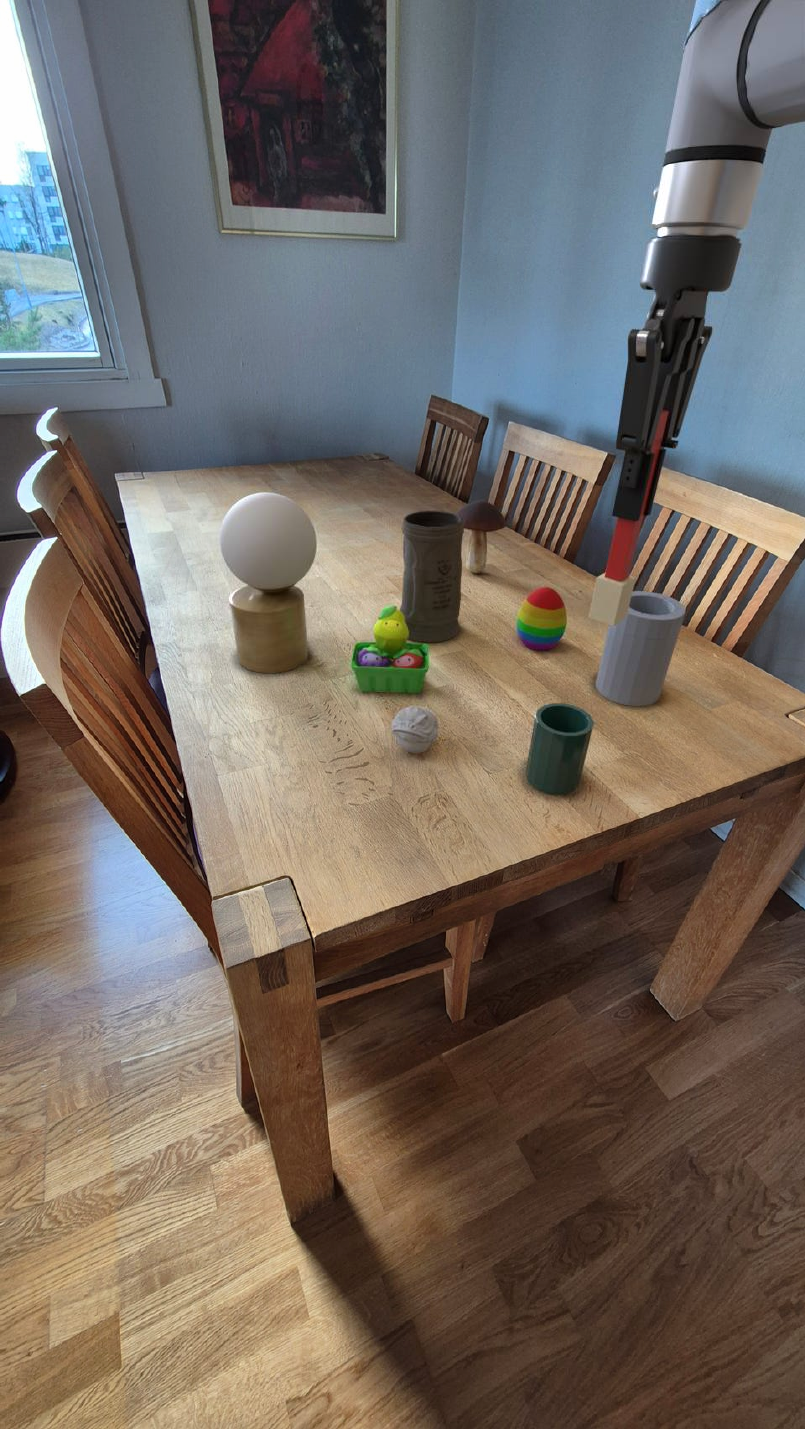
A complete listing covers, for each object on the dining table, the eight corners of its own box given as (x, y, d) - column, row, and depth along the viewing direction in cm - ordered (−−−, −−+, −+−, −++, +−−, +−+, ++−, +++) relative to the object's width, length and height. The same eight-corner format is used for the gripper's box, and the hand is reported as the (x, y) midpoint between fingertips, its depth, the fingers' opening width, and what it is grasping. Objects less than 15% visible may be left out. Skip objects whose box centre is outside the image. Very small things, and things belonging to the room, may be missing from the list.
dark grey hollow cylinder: (474, 634, 109) (479, 517, 99) (424, 650, 104) (424, 529, 93) (422, 608, 120) (422, 500, 109) (375, 621, 115) (370, 509, 104)
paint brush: (626, 617, 73) (677, 411, 60) (613, 626, 71) (663, 415, 58) (601, 609, 75) (646, 406, 62) (588, 617, 73) (631, 410, 60)
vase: (670, 689, 96) (696, 604, 88) (642, 714, 90) (667, 626, 82) (613, 667, 101) (633, 585, 93) (584, 689, 95) (602, 604, 87)
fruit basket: (350, 696, 92) (348, 627, 86) (356, 665, 100) (355, 600, 93) (427, 699, 92) (431, 630, 86) (428, 668, 99) (431, 602, 93)
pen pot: (589, 777, 78) (603, 718, 73) (561, 803, 74) (574, 743, 69) (544, 754, 82) (555, 696, 77) (515, 777, 78) (524, 718, 73)
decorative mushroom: (510, 571, 133) (518, 500, 125) (481, 587, 126) (489, 512, 117) (467, 559, 139) (473, 490, 130) (438, 573, 132) (442, 501, 123)
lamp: (260, 624, 111) (242, 477, 96) (335, 635, 108) (328, 486, 93) (216, 665, 99) (189, 505, 84) (299, 679, 96) (285, 516, 81)
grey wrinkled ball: (382, 760, 80) (383, 715, 76) (401, 730, 85) (402, 687, 81) (428, 771, 78) (430, 726, 74) (444, 740, 84) (447, 696, 80)
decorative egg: (507, 647, 106) (514, 591, 100) (522, 627, 112) (530, 574, 106) (554, 658, 103) (565, 602, 97) (567, 638, 109) (578, 584, 103)
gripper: (686, 240, 59) (629, 493, 73) (612, 230, 50) (563, 523, 63) (770, 239, 55) (693, 508, 69) (706, 227, 46) (632, 541, 59)
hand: (631, 514), depth 66 cm, fingers closed on paint brush, 2 cm apart
